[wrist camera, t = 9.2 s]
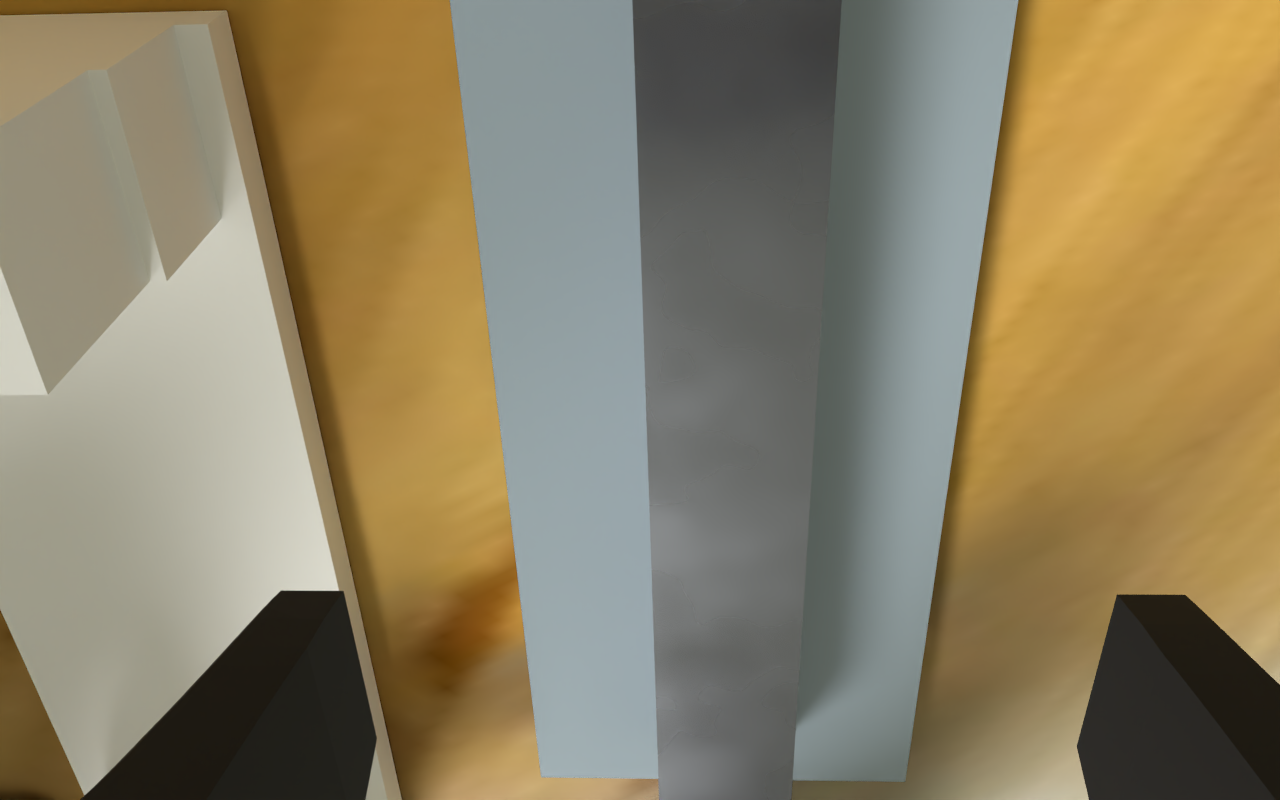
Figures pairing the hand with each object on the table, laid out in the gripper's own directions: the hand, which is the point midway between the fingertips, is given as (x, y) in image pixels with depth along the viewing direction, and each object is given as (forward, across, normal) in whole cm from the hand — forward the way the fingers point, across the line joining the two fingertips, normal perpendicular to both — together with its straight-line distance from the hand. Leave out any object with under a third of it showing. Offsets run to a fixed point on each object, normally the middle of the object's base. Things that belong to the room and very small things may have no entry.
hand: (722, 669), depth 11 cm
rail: (+9, 0, 0) cm, 9 cm away
